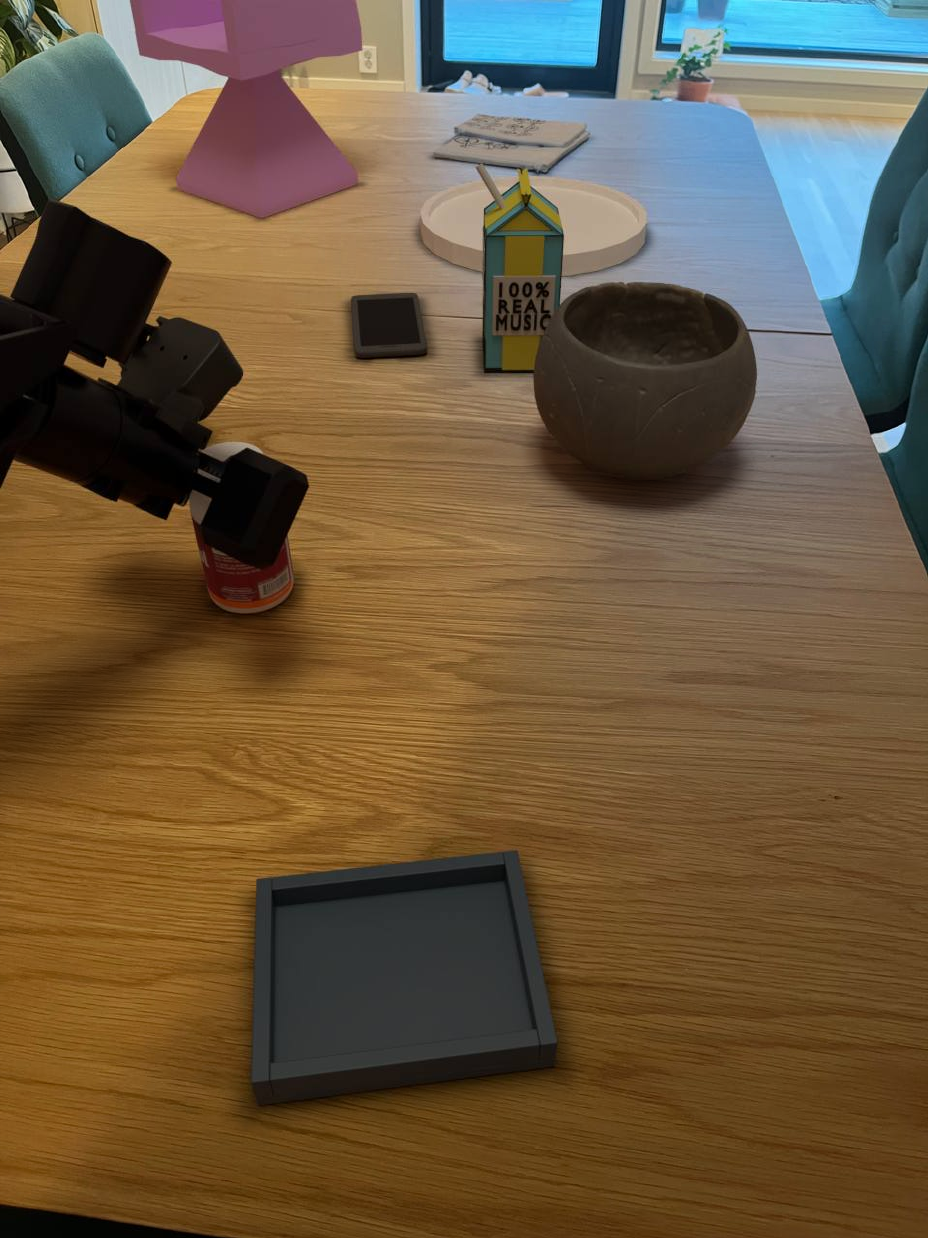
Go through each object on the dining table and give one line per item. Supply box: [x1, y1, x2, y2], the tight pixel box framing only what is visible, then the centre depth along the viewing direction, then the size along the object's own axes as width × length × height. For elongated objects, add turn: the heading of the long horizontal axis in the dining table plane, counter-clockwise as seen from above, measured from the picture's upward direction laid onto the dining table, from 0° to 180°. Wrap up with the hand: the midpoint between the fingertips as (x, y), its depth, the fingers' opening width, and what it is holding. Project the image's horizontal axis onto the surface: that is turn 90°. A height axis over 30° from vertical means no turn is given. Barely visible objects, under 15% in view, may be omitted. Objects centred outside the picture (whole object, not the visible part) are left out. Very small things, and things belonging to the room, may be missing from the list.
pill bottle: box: [188, 441, 295, 614], centre depth 70 cm, size 6×6×11 cm
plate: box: [419, 175, 648, 277], centre depth 126 cm, size 28×28×2 cm
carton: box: [475, 163, 564, 374], centre depth 96 cm, size 7×8×18 cm
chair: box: [129, 0, 363, 219], centre depth 131 cm, size 20×20×30 cm
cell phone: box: [350, 292, 428, 359], centre depth 106 cm, size 7×14×1 cm, turn 7°
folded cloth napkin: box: [433, 113, 591, 174], centre depth 153 cm, size 19×20×2 cm
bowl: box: [533, 281, 758, 481], centre depth 83 cm, size 18×18×13 cm
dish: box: [250, 849, 558, 1106], centre depth 50 cm, size 14×11×2 cm
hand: (253, 505), depth 70 cm, fingers closed on pill bottle, 6 cm apart
